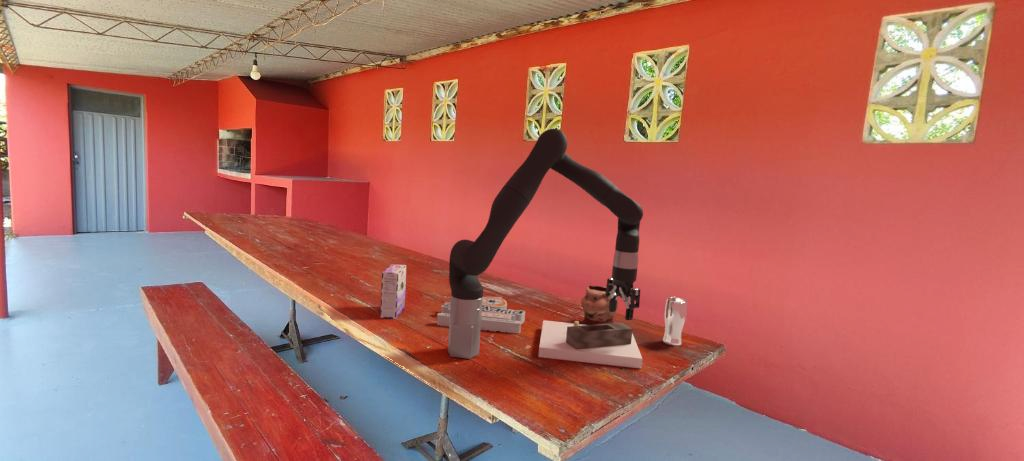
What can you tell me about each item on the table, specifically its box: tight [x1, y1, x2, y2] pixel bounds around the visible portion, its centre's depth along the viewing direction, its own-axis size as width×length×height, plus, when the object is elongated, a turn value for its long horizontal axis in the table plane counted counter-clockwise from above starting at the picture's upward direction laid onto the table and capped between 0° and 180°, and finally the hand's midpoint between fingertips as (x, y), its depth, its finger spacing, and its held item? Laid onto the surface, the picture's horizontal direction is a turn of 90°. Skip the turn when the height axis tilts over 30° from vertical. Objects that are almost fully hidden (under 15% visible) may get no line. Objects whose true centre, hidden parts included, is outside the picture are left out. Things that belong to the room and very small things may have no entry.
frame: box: [566, 322, 633, 350], centre depth 153 cm, size 20×6×5 cm, turn 114°
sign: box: [436, 296, 526, 335], centre depth 181 cm, size 30×4×30 cm
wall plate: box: [538, 320, 643, 369], centre depth 157 cm, size 26×30×6 cm
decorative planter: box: [580, 285, 619, 325], centre depth 180 cm, size 20×12×14 cm, turn 148°
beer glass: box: [662, 296, 688, 347], centre depth 166 cm, size 7×7×15 cm
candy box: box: [379, 263, 407, 320], centre depth 176 cm, size 14×6×16 cm, turn 0°
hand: (620, 315), depth 155 cm, fingers open, 8 cm apart
